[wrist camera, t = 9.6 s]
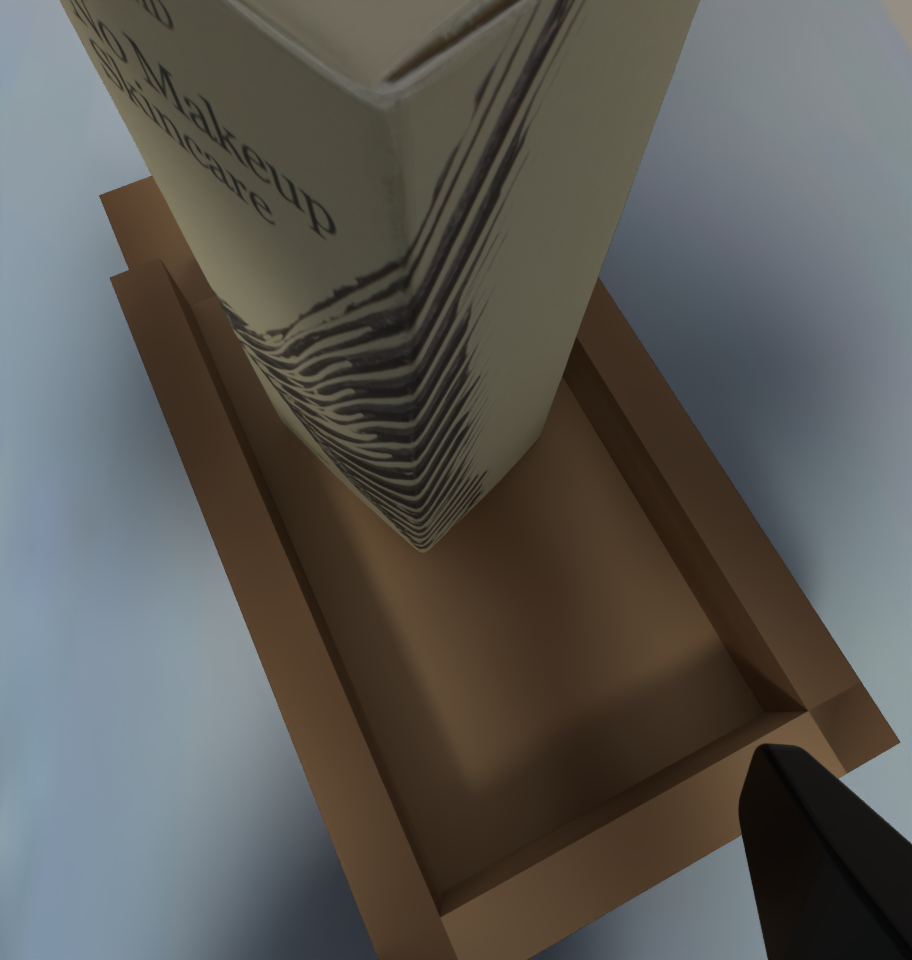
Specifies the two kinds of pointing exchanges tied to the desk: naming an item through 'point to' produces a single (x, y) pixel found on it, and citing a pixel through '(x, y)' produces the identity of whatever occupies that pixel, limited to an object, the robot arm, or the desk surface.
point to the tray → (501, 634)
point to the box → (396, 207)
